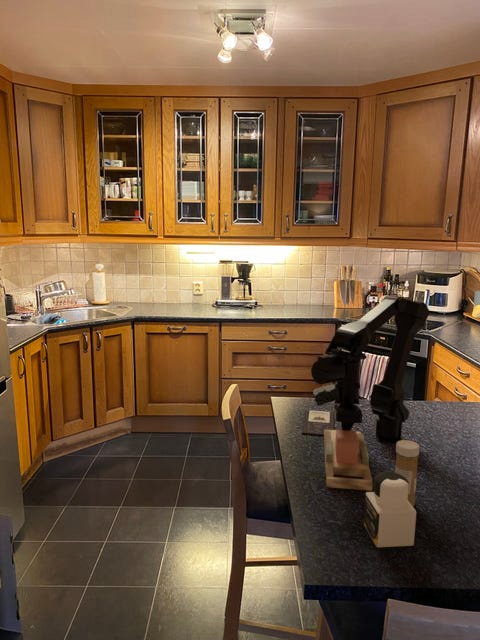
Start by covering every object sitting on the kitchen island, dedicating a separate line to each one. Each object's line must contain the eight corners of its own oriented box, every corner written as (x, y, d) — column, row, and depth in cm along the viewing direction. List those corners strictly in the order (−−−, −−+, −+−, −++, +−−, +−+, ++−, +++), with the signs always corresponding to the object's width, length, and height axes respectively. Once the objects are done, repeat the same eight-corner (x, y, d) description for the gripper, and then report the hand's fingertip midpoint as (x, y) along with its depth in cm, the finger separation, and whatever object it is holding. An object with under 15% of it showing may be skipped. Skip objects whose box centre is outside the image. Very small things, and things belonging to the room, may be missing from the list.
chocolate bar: (301, 432, 136) (305, 410, 153) (301, 435, 136) (305, 412, 154) (333, 435, 134) (333, 412, 152) (333, 438, 135) (333, 415, 152)
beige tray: (360, 438, 134) (360, 425, 133) (372, 490, 106) (373, 474, 106) (323, 436, 135) (324, 422, 134) (326, 486, 108) (327, 470, 107)
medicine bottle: (363, 524, 94) (366, 468, 92) (398, 523, 94) (402, 467, 92) (376, 548, 87) (380, 487, 85) (414, 546, 87) (419, 486, 85)
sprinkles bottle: (419, 504, 101) (424, 445, 98) (405, 511, 98) (410, 450, 96) (401, 495, 105) (405, 437, 102) (387, 501, 102) (391, 442, 100)
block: (355, 449, 122) (356, 431, 121) (357, 464, 114) (358, 444, 113) (335, 448, 123) (336, 429, 122) (336, 462, 115) (337, 443, 114)
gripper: (315, 365, 131) (313, 419, 133) (315, 387, 113) (313, 449, 115) (357, 367, 129) (354, 422, 132) (364, 389, 111) (360, 452, 114)
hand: (344, 435), depth 123 cm, fingers closed
